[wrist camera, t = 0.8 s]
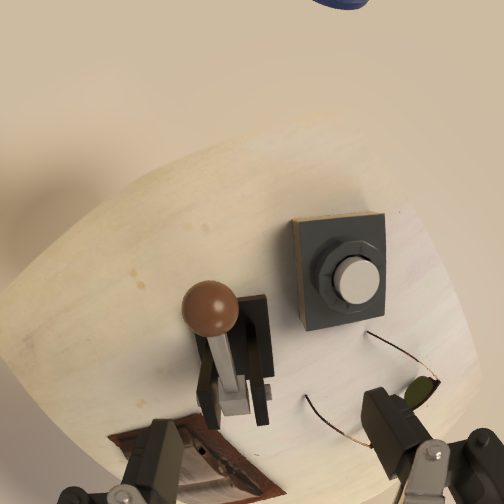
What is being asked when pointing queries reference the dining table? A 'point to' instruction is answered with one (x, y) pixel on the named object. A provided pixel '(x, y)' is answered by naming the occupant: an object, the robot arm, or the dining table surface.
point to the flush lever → (218, 339)
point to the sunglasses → (413, 395)
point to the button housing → (327, 260)
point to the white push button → (356, 280)
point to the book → (210, 467)
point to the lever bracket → (240, 361)
